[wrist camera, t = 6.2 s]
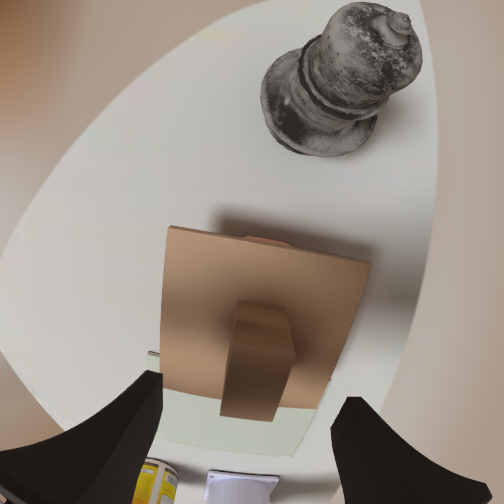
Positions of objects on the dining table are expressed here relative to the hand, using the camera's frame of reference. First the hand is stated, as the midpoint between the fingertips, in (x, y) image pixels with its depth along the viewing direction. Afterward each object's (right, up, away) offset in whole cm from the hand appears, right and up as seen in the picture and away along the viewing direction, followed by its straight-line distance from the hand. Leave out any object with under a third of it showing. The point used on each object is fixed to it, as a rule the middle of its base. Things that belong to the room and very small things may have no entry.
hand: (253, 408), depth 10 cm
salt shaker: (+3, +14, +6) cm, 16 cm away
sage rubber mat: (-2, -8, +12) cm, 14 cm away
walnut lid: (0, +2, +5) cm, 6 cm away
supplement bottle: (-11, -20, +15) cm, 27 cm away
